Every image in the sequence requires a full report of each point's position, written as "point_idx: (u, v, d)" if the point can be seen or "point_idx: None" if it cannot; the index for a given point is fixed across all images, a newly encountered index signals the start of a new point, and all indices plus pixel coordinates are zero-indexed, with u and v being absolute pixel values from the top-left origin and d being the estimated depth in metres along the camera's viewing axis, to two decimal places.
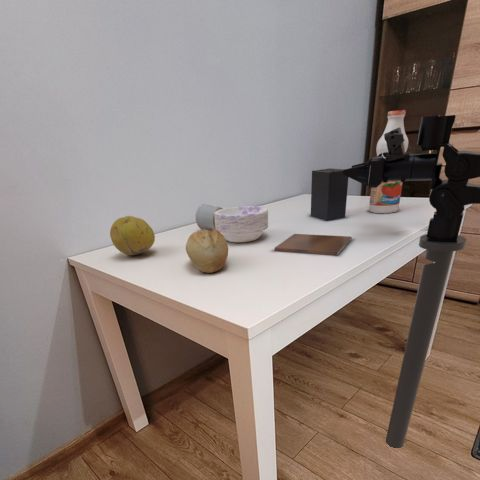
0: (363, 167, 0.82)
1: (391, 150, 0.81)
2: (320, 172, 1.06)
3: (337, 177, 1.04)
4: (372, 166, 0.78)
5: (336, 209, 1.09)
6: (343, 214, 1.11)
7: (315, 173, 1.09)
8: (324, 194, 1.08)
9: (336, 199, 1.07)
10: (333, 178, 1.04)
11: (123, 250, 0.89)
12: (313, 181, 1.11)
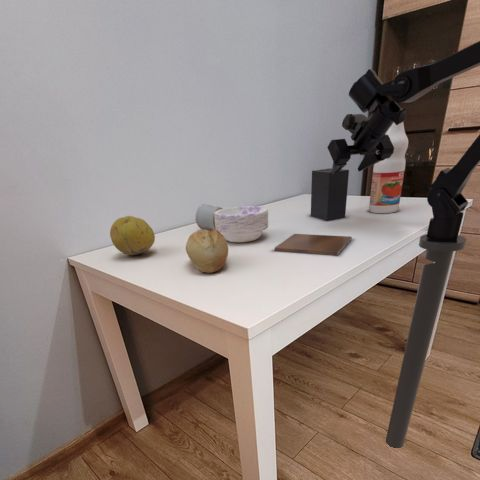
0: None
1: (352, 130, 0.91)
2: (320, 172, 1.06)
3: (337, 177, 1.04)
4: (329, 149, 0.91)
5: (336, 209, 1.09)
6: (343, 214, 1.11)
7: (315, 173, 1.09)
8: (324, 194, 1.08)
9: (336, 199, 1.07)
10: (333, 178, 1.04)
11: (123, 250, 0.89)
12: (313, 181, 1.11)
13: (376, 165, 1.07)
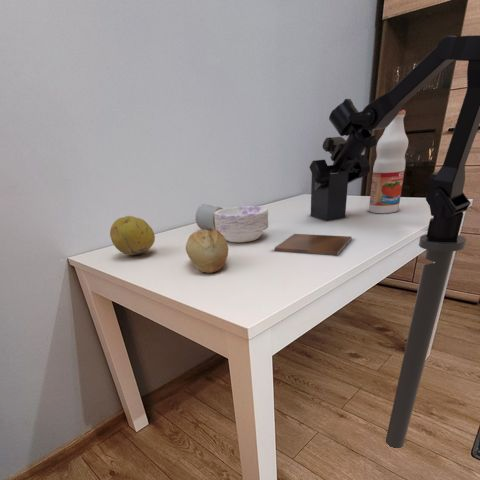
0: None
1: (331, 152, 1.00)
2: None
3: (337, 177, 1.04)
4: (311, 169, 1.01)
5: (336, 209, 1.09)
6: (343, 214, 1.11)
7: None
8: (324, 194, 1.08)
9: (336, 199, 1.07)
10: (333, 178, 1.04)
11: (123, 250, 0.89)
12: (313, 181, 1.11)
13: (376, 165, 1.07)
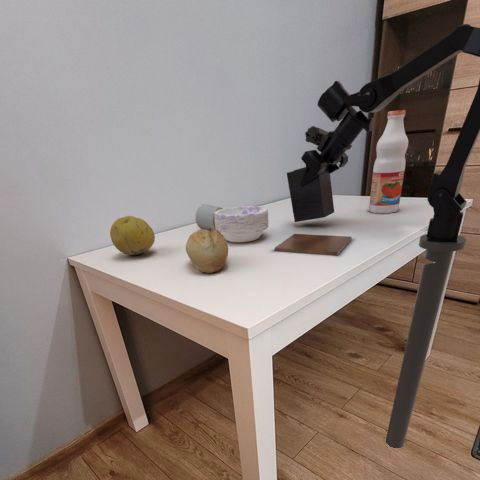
0: (307, 168, 0.93)
1: (317, 142, 0.91)
2: (301, 169, 0.96)
3: None
4: (305, 161, 0.89)
5: (327, 204, 1.00)
6: (332, 209, 1.02)
7: (292, 173, 0.98)
8: (313, 191, 0.97)
9: (326, 193, 0.98)
10: None
11: (123, 250, 0.89)
12: (291, 183, 1.00)
13: (376, 165, 1.07)
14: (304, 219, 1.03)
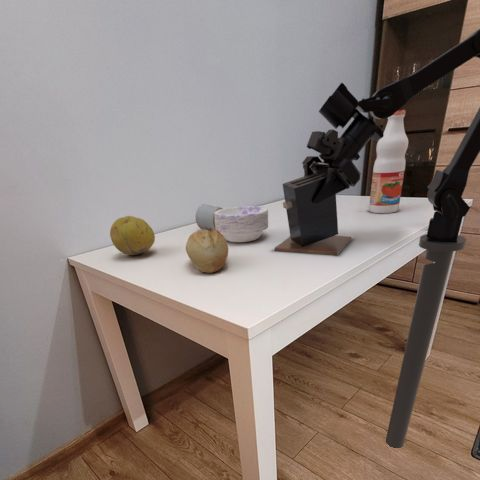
0: (331, 180, 0.76)
1: (331, 149, 0.76)
2: (314, 182, 0.77)
3: None
4: (345, 170, 0.72)
5: None
6: None
7: (303, 188, 0.77)
8: (327, 206, 0.81)
9: None
10: None
11: (123, 250, 0.89)
12: (301, 200, 0.78)
13: (376, 165, 1.07)
14: (314, 241, 0.85)
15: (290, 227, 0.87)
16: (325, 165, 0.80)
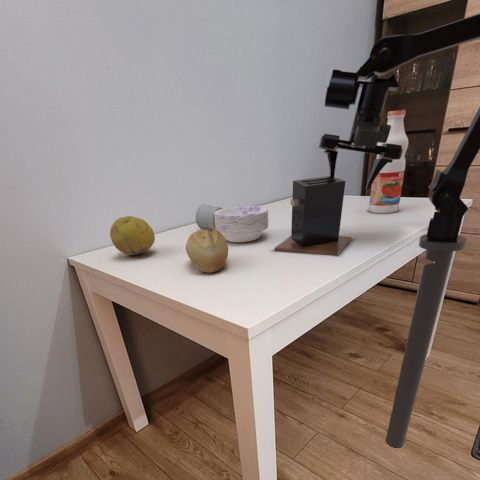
0: None
1: None
2: (325, 185, 0.77)
3: None
4: None
5: None
6: None
7: (313, 188, 0.77)
8: (333, 211, 0.81)
9: None
10: None
11: (123, 250, 0.89)
12: (309, 200, 0.78)
13: None
14: (315, 243, 0.85)
15: (293, 226, 0.87)
16: (358, 147, 0.80)
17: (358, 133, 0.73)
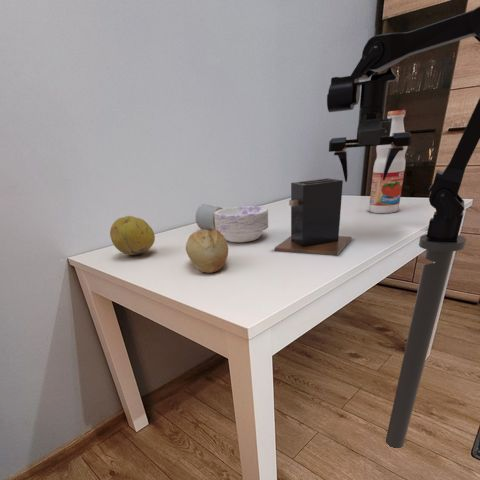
0: None
1: None
2: (323, 184, 0.78)
3: None
4: None
5: None
6: None
7: (311, 187, 0.78)
8: (332, 210, 0.82)
9: None
10: None
11: (123, 250, 0.89)
12: (307, 199, 0.79)
13: (376, 165, 1.07)
14: (315, 243, 0.85)
15: (292, 227, 0.87)
16: None
17: (360, 134, 0.77)
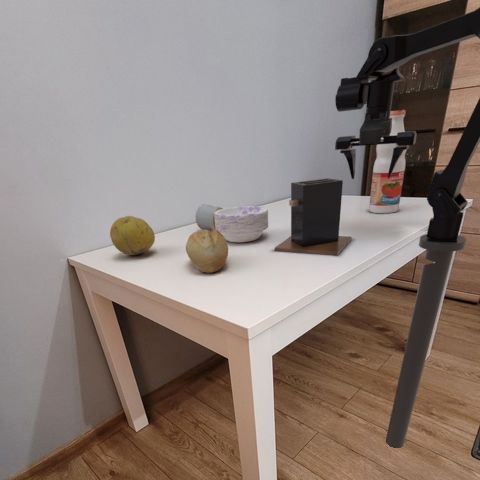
0: None
1: None
2: (323, 184, 0.78)
3: None
4: (413, 142, 0.82)
5: None
6: None
7: (311, 187, 0.78)
8: (332, 210, 0.82)
9: None
10: None
11: (123, 250, 0.89)
12: (307, 199, 0.79)
13: (376, 165, 1.07)
14: (315, 243, 0.85)
15: (292, 227, 0.87)
16: None
17: (360, 134, 0.81)
